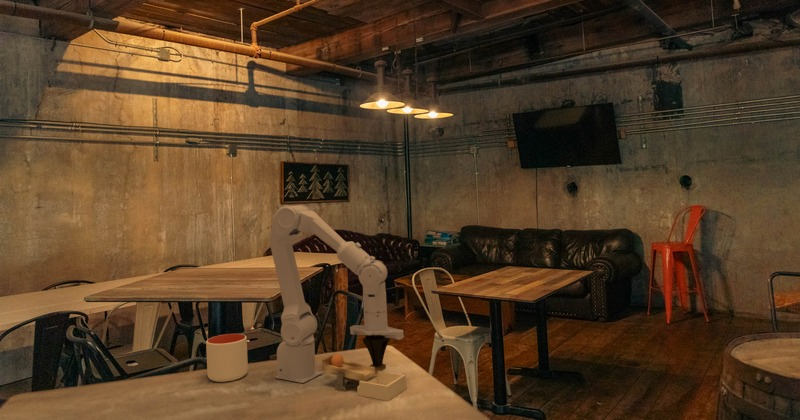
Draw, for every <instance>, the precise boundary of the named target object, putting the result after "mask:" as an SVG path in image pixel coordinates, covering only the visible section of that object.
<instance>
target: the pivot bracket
mask: <svg viewBox="0 0 800 420" xmlns="http://www.w3.org/2000/svg"><path fill="white" fill-rule="evenodd" d="M336 376H337V379H336V380H337V383H335V384H334V390H336V391H341V392H348V391H349V390H350V389H352V388H355V387H356V386H357V385H359V380H355V379H351V378H346V377H344V373H340V372H338V373H337V375H336Z"/></svg>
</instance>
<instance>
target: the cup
mask: <svg viewBox="0 0 800 420" xmlns="http://www.w3.org/2000/svg"><path fill="white" fill-rule="evenodd" d="M247 343H248V340H247V336H246V335H245V334H243V333H242V334H241V333H228V334H227V333H225V334H220V335H215V336H212V337H210V338H207V340H206V341H205V345H206V346H205V348H206V369H207V370H206V371H207V372H206V373H207V374H206V375H207V377H208V379H210V380H211V381H212V382H218V383H226V382H227V381H228V382H231V381H232V382H233V381H237V380H239V379H241V378H244V377H245V376H246V375H247V373H248V371H249V365H248V364H249V363H248V362H249V361H248V360H249V359H248V344H247ZM228 382H227V383H228Z"/></svg>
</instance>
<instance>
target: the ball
mask: <svg viewBox="0 0 800 420" xmlns="http://www.w3.org/2000/svg"><path fill="white" fill-rule="evenodd" d="M335 354H336V355H334V356H333V357H332V359H331V363H332V365H333V366H336V367H339V366H341V365H342V364H343V360H344V356H342V355H341V354H340V353H335Z"/></svg>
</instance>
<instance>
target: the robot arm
mask: <svg viewBox="0 0 800 420" xmlns="http://www.w3.org/2000/svg"><path fill="white" fill-rule="evenodd" d="M271 218H272V219H271V220H272V225H271V226H272V227H271V230H270V233H269V234H270V235H269V246H270V251H271V254H272V258H273V263H274V269H275V272H276V276H277V282H278V287H279V290H280V295H281V298H282V303H283V304H282V305H283V311H282V313H281V315H280V321H281V327H280V336H281V338H282V340H283V341H281V342H280V343H279V345H278V347H277V349H276V370H277V375H275V377H274V378H276V379H279V380H285V381H291V382H294V383H295V382H296V383H299V384H300V383H301V384H304V383H307V382H308V381H311V380H312V379H314V378H317V377H319V376H320V375H323V374H324V372H322V370H317V369H316V352H315V351H316V350H315V349H316V348H315V337H314V334H315V333H316V332H317V329H318V321H317V318H316V317H315V315H314V314H313V313H312V310H311V309H312V308H311V306H310V305H309V304H308V303H306V300H305V296H304V292H303V286H302V282H301V278H300V274H299V269H298V264H297V260H296V256H295V255H296V254H295V251H294V247H293V243H294V241H295V239H296V238H297V237H298V235H299V234H300V233H301V232H305V233H306V232H307V233H311V234H314V235H315V236H316V237H318V238H319V239H320V240H321V241H323V242H324V243H325V244H326V245H328V246H329V247H330V248H332V249H333V250H334V251H335V252H336V256H337V260H338V261H340V262H341V263H342V264H344V265H345V266H346V268H348V269H349V270H350V271H351V272H352V273H354V274H355V275H356V276H358V280H359V282H360V284H361V285H362V301H363V303H362V305H363V323H364V324H363V325H358V324H357V325H355V324H354V325H352V326H351V325H350V327H349V330H350V331H349V333H350V335H352V336H353V335H359V336H360V335H361V336H365V337H364V338H363V339H362V343H363V344H364V345H365V347H366V349H367V351H368V354H369V356H370V358H371V362H372V364H373V366H377V367H379V366H381V365H382V364H384V362H383V361H384V358H385V354H386V353H385V352H386V349H387V346H388V345H389V342H390V341H391V339H395V340H398V341H401V340H402V339H404V338H405V337H404V330H403V329H399V328H394V327H392V326H391V327H390V326H388V311H387V310H388V309H387V292H386V279H387V277H388V269H387V266H386V265H385V264H384V262H383V261H381V260H377V259H376V257H375V256H373V255H371V256H370V255H369V253H367V252H366V251H365V250H363V248H361V247H362V244H360V243H359V242H356V243H355V242H354V241H346V240H344V239H343V238H342V237H341V236H340V234H338V233H337V232H336V231H335V230H334V229H333V228H332V227H331V226H330V225H329V224H328V223H327V222H325V221H324V219H322V218H321V217H320V216H319V215H318V214H317V213H316V212H315V211H314V210H311V208H310V207H308V206H306V205H305V204H297V205H289V204H286V205H285V204H284V205H283V206H281V207H279V208H278V209H277V211H276V212H275V213H274V214H273V216H272V217H271Z"/></svg>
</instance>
